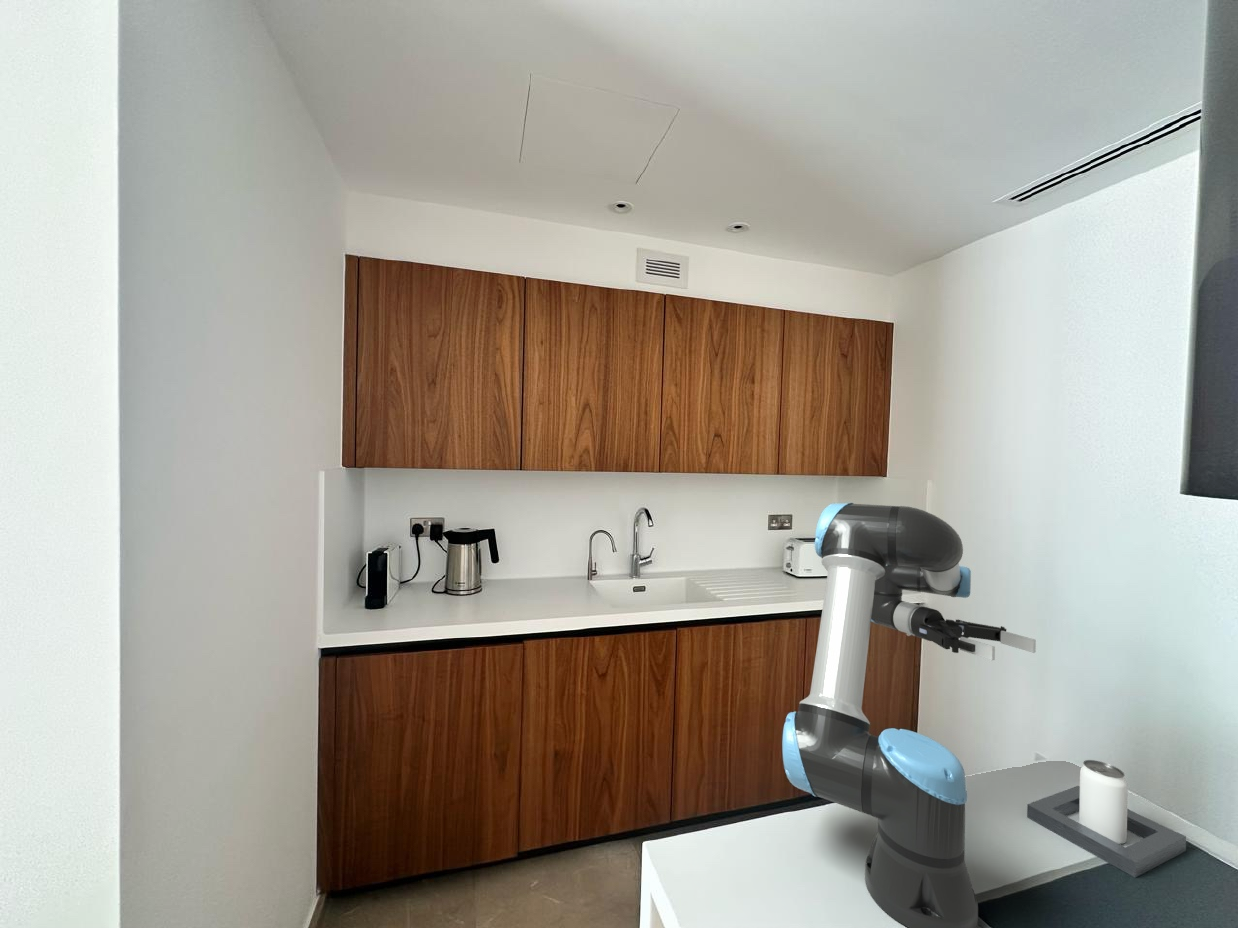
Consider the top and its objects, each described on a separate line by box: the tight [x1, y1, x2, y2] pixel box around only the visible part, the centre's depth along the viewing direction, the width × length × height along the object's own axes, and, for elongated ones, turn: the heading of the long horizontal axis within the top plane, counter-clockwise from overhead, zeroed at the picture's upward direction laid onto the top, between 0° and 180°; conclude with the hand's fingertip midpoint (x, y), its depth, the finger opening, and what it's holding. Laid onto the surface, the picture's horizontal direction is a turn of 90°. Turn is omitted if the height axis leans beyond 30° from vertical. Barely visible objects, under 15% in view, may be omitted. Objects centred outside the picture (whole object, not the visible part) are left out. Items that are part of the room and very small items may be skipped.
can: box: [1078, 759, 1129, 845], centre depth 97 cm, size 6×6×12 cm
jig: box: [1026, 785, 1187, 878], centre depth 97 cm, size 17×16×2 cm
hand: (1014, 649), depth 108 cm, fingers open, 13 cm apart
